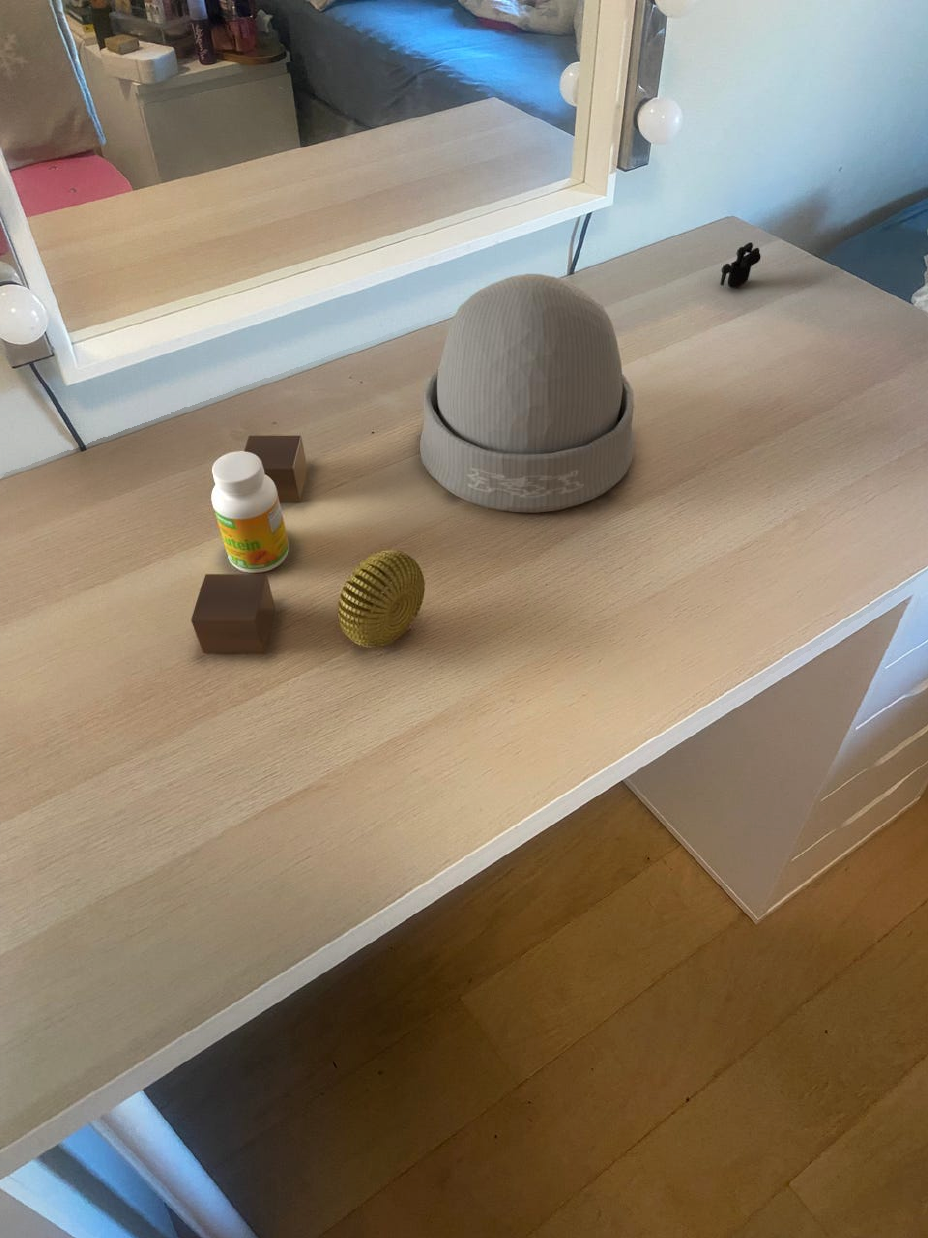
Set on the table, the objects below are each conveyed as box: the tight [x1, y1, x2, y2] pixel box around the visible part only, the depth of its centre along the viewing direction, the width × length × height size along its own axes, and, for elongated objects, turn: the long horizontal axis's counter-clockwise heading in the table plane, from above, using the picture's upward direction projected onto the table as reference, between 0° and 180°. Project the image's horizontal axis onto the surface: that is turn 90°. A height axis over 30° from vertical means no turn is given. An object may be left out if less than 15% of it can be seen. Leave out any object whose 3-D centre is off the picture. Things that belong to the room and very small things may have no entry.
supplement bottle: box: [211, 450, 290, 574], centre depth 75 cm, size 5×5×10 cm
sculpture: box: [337, 550, 426, 649], centre depth 69 cm, size 8×4×8 cm, turn 140°
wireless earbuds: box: [719, 241, 762, 289], centre depth 107 cm, size 7×2×5 cm, turn 132°
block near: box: [190, 573, 276, 655], centre depth 71 cm, size 5×5×4 cm
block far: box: [243, 435, 308, 503], centre depth 84 cm, size 5×5×4 cm
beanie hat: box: [419, 273, 636, 514], centre depth 83 cm, size 21×21×20 cm
